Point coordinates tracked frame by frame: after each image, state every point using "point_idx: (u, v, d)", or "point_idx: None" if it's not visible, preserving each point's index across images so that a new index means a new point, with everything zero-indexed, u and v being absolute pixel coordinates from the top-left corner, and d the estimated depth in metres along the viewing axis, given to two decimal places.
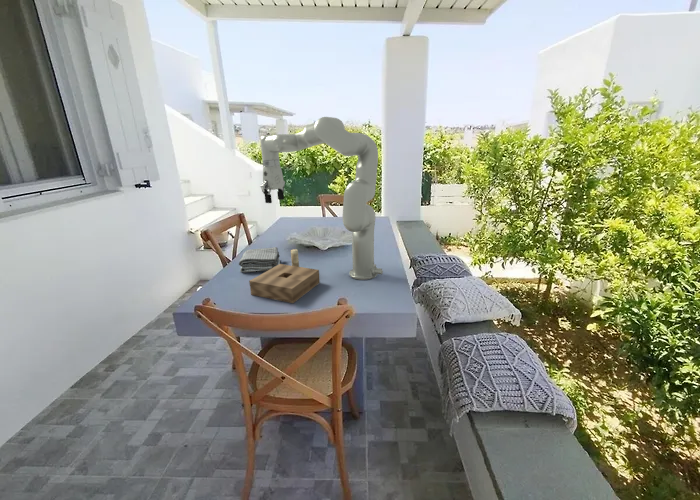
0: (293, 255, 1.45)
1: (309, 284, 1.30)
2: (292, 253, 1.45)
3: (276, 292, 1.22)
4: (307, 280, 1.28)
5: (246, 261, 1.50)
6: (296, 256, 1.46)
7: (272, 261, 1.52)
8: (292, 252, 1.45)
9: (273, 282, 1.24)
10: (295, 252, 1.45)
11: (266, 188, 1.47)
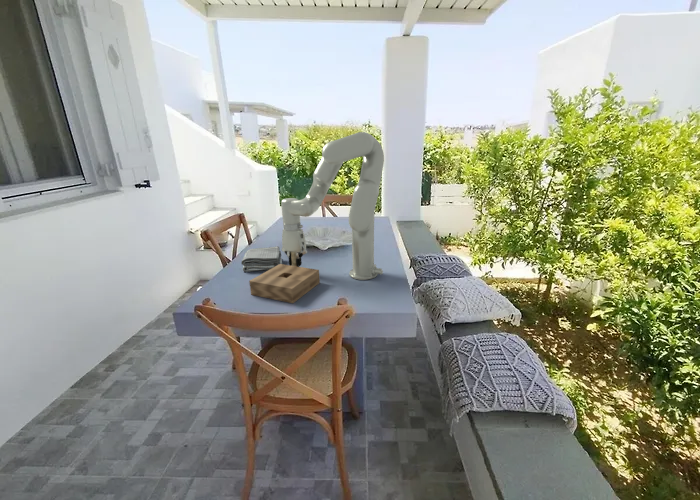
0: (293, 255, 1.45)
1: (309, 284, 1.30)
2: (292, 253, 1.45)
3: (276, 292, 1.22)
4: (307, 280, 1.28)
5: (248, 260, 1.51)
6: (296, 256, 1.46)
7: (274, 260, 1.53)
8: (292, 252, 1.45)
9: (273, 282, 1.24)
10: (295, 252, 1.45)
11: (299, 252, 1.44)
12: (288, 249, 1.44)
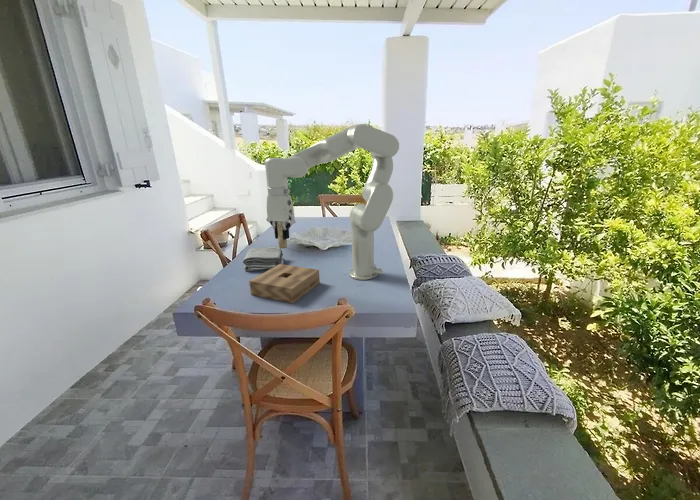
0: (279, 226, 1.25)
1: (309, 284, 1.30)
2: (278, 223, 1.25)
3: (276, 292, 1.22)
4: (307, 280, 1.28)
5: (250, 259, 1.52)
6: None
7: (276, 259, 1.53)
8: (278, 222, 1.24)
9: (273, 282, 1.24)
10: (281, 222, 1.24)
11: (286, 222, 1.24)
12: (273, 218, 1.24)
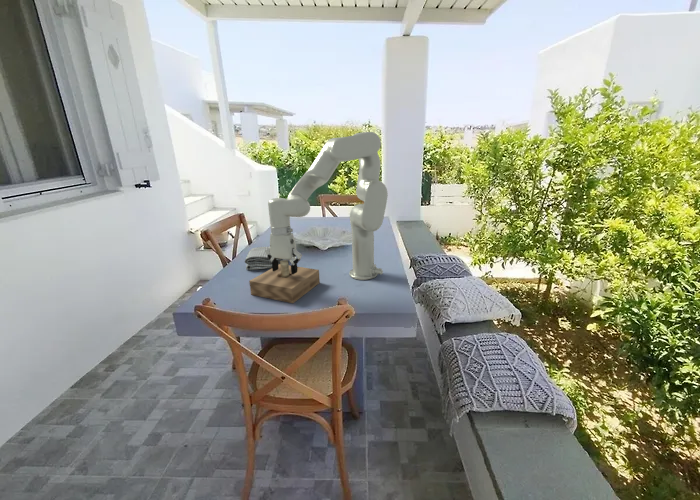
0: (283, 267, 1.28)
1: (309, 284, 1.30)
2: (282, 265, 1.28)
3: (276, 292, 1.22)
4: (307, 280, 1.28)
5: (252, 259, 1.53)
6: (286, 268, 1.29)
7: (277, 259, 1.54)
8: (282, 264, 1.28)
9: (273, 282, 1.24)
10: (285, 264, 1.28)
11: (292, 258, 1.26)
12: (276, 256, 1.27)
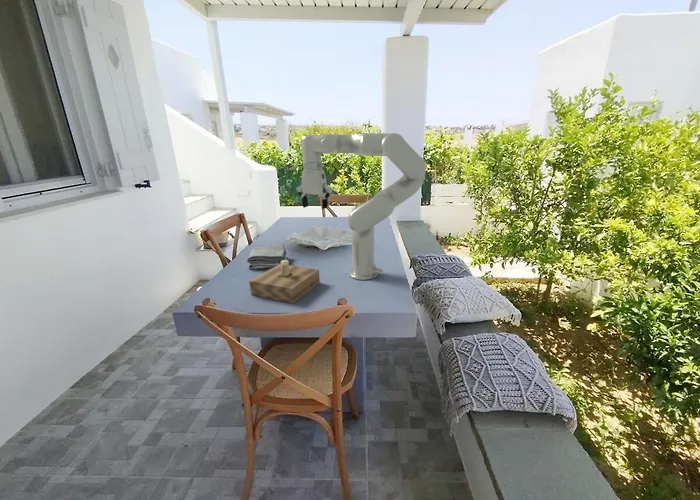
0: (283, 267, 1.29)
1: (309, 284, 1.30)
2: (282, 264, 1.28)
3: (276, 292, 1.22)
4: (307, 280, 1.28)
5: (254, 258, 1.54)
6: (287, 268, 1.29)
7: (279, 258, 1.55)
8: (282, 263, 1.28)
9: (273, 282, 1.24)
10: (285, 263, 1.28)
11: (323, 192, 1.35)
12: (308, 192, 1.36)
